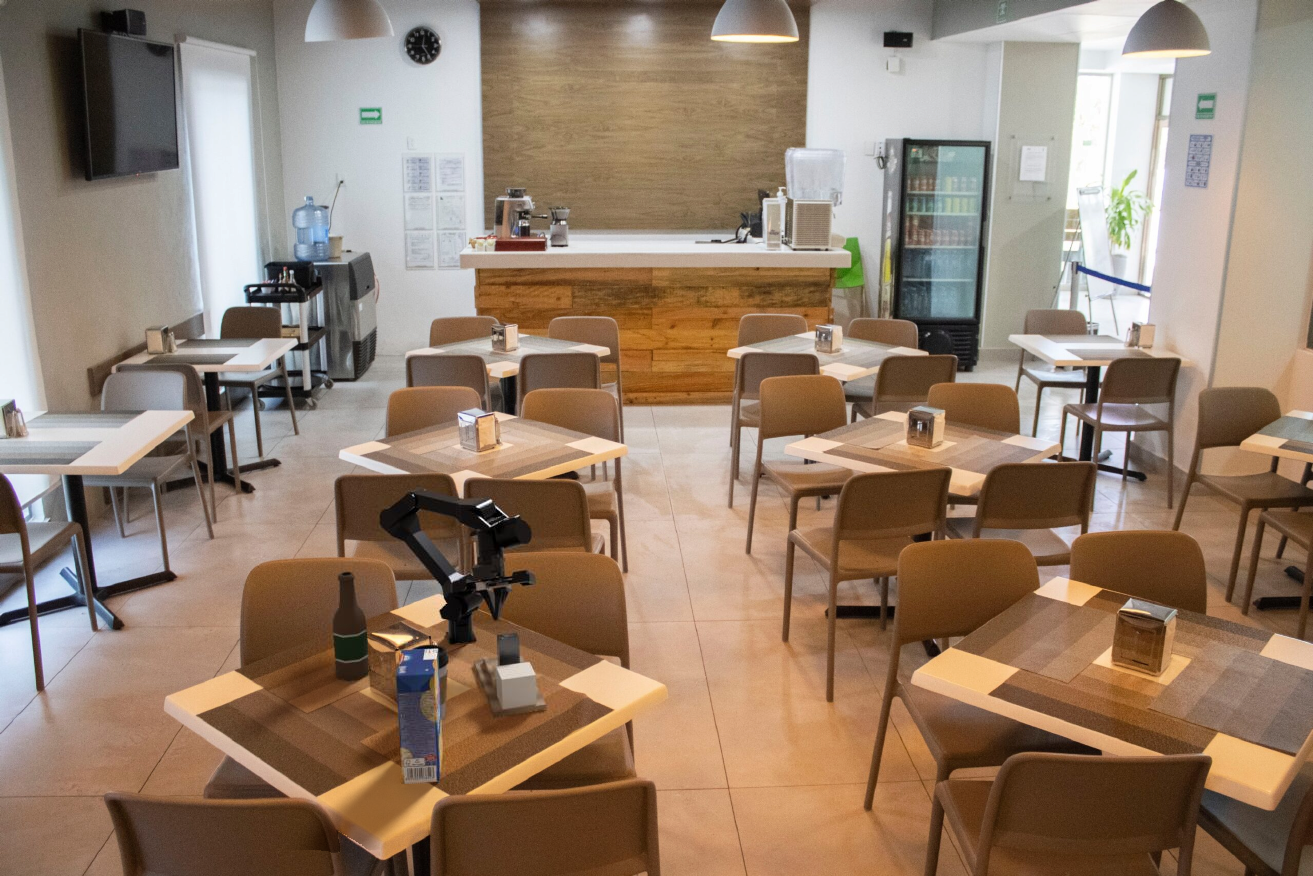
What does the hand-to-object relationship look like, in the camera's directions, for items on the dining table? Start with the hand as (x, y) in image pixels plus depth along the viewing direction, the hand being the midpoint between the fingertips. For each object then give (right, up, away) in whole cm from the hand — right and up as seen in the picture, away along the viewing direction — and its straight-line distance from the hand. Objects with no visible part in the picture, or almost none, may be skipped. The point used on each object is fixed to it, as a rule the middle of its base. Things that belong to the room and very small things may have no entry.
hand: (496, 620), depth 251 cm
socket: (+7, -14, -16) cm, 22 cm away
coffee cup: (-11, -17, -21) cm, 29 cm away
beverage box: (-8, -22, -39) cm, 46 cm away
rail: (+4, -13, -8) cm, 16 cm away
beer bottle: (-32, -12, -2) cm, 34 cm away
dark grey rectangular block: (+5, -13, -12) cm, 19 cm away
